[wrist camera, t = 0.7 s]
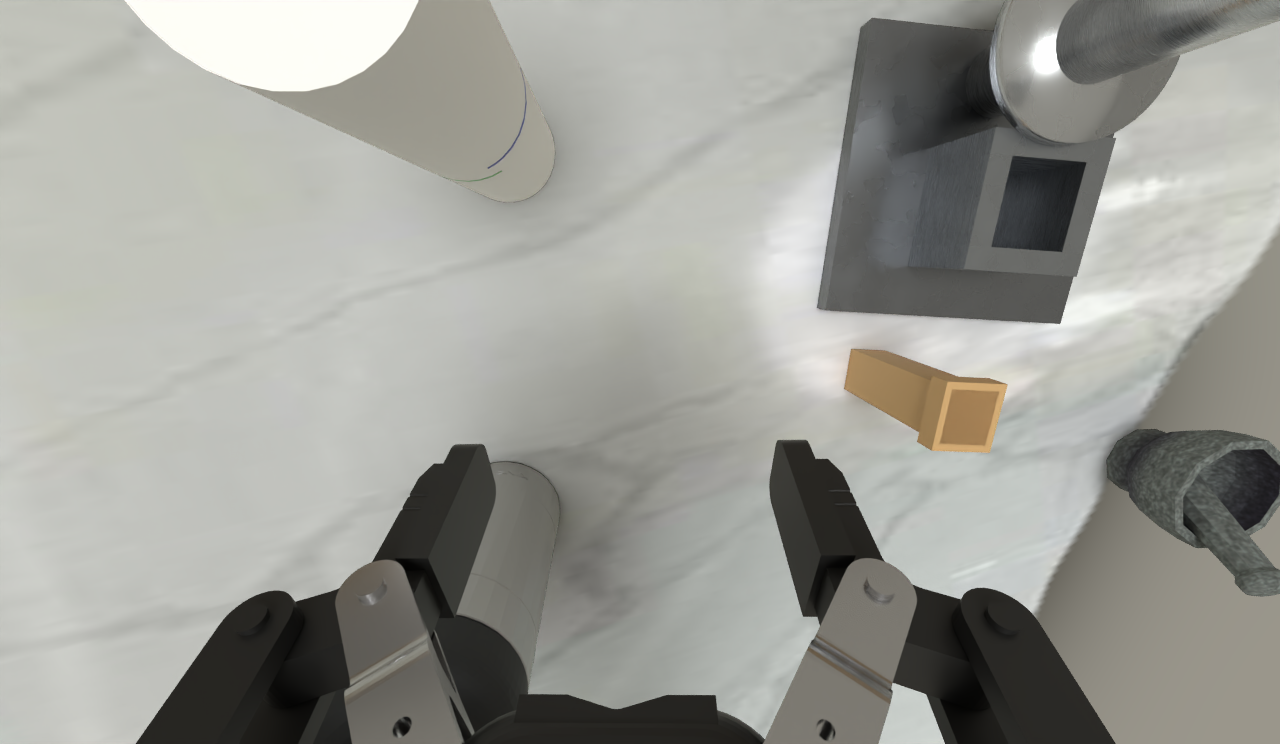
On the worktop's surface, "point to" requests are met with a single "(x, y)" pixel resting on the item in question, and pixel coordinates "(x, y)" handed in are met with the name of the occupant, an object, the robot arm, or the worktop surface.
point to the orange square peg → (928, 399)
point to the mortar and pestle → (1206, 493)
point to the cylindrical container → (381, 78)
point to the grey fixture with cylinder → (996, 149)
